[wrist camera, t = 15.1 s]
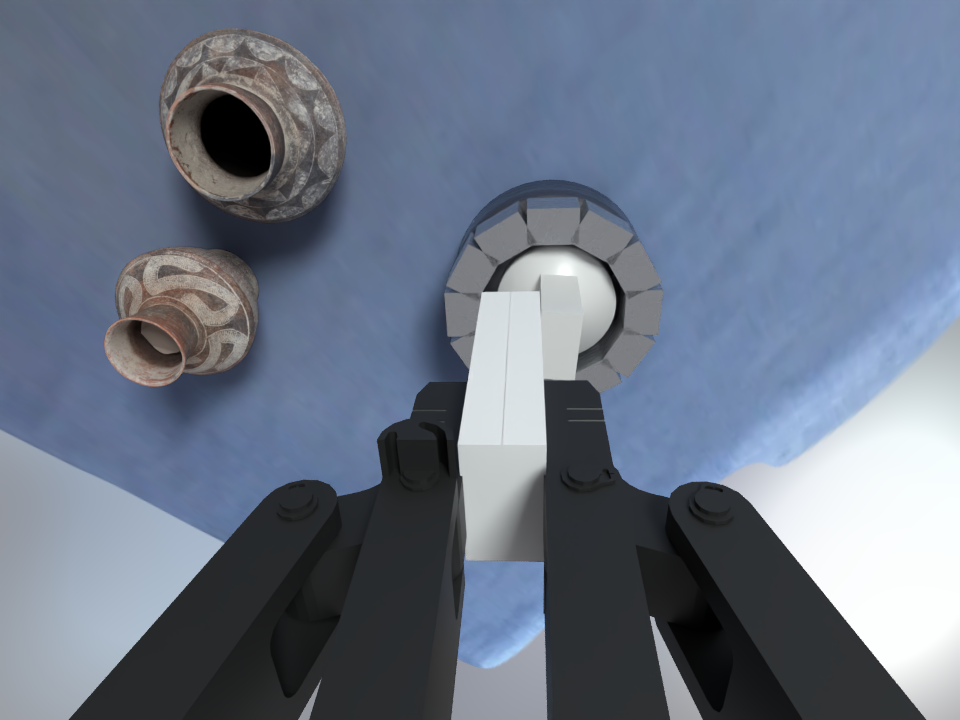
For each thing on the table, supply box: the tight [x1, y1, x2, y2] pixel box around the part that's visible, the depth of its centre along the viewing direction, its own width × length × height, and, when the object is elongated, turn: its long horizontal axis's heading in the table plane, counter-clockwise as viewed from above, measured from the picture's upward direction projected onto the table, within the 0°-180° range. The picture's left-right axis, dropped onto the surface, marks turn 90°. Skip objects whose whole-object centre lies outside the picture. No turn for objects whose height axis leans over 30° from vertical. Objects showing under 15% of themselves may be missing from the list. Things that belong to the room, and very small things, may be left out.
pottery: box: [104, 28, 346, 387], centre depth 42 cm, size 11×25×12 cm, turn 151°
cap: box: [498, 245, 616, 380], centre depth 40 cm, size 8×8×8 cm
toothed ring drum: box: [444, 180, 663, 393], centre depth 45 cm, size 14×14×8 cm
